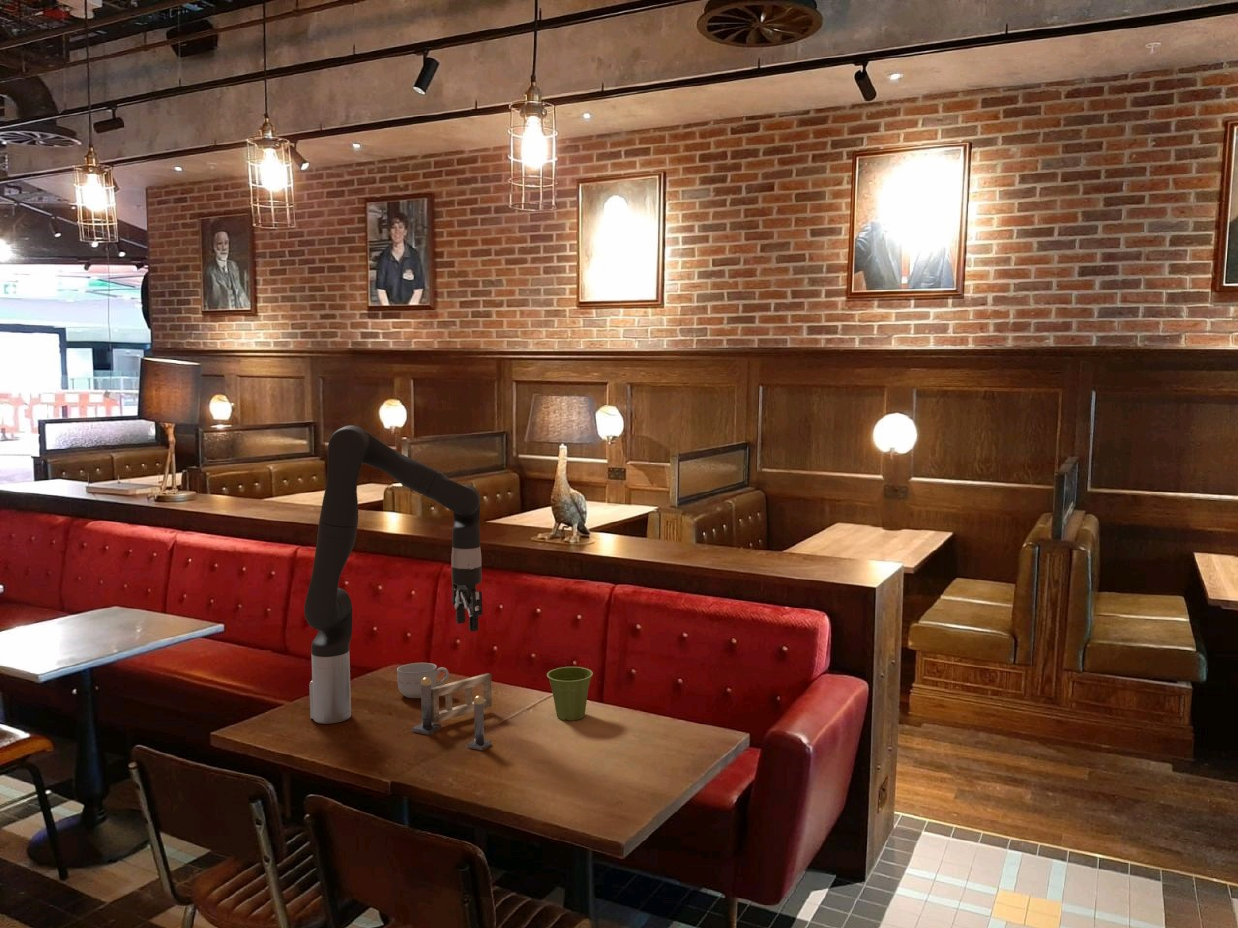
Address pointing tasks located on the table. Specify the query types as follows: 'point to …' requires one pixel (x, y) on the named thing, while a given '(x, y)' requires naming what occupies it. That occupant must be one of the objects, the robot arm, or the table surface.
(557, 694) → the plant pot
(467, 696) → the gate
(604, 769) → the table surface
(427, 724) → the hinge post
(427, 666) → the teacup
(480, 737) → the latch post
